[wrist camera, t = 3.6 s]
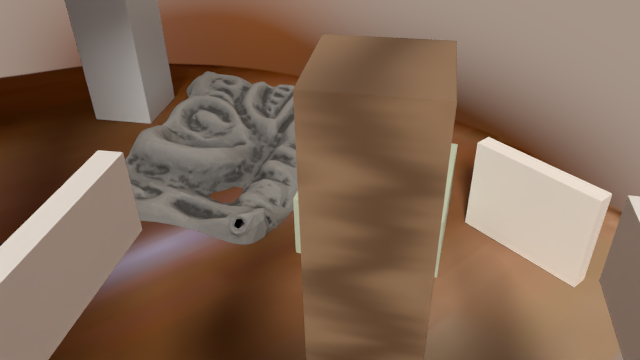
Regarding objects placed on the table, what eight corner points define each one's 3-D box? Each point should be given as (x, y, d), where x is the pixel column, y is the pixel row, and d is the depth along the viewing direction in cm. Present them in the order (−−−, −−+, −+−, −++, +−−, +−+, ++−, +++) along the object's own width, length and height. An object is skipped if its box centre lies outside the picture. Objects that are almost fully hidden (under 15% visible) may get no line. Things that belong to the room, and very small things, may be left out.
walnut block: (307, 388, 31) (292, 89, 21) (327, 308, 36) (323, 34, 26) (417, 406, 30) (457, 100, 20) (422, 321, 35) (456, 40, 25)
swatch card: (574, 287, 37) (601, 201, 33) (465, 222, 43) (477, 142, 39) (587, 276, 38) (615, 191, 34) (478, 213, 44) (492, 135, 40)
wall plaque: (203, 90, 65) (198, 57, 63) (363, 115, 59) (364, 80, 57) (56, 207, 47) (42, 167, 44) (267, 260, 41) (263, 217, 39)
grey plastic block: (96, 119, 58) (45, -70, 48) (124, 93, 63) (83, -82, 53) (150, 123, 57) (110, -68, 47) (174, 97, 62) (142, -82, 52)
